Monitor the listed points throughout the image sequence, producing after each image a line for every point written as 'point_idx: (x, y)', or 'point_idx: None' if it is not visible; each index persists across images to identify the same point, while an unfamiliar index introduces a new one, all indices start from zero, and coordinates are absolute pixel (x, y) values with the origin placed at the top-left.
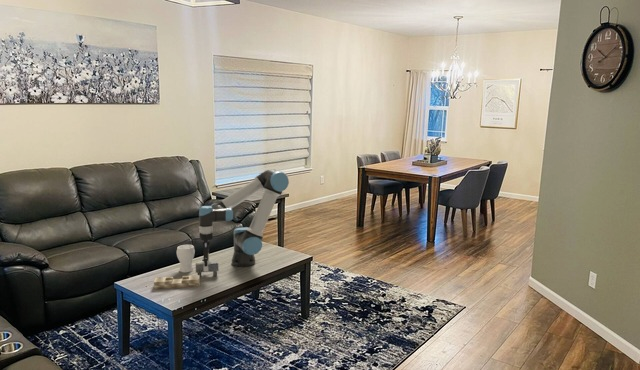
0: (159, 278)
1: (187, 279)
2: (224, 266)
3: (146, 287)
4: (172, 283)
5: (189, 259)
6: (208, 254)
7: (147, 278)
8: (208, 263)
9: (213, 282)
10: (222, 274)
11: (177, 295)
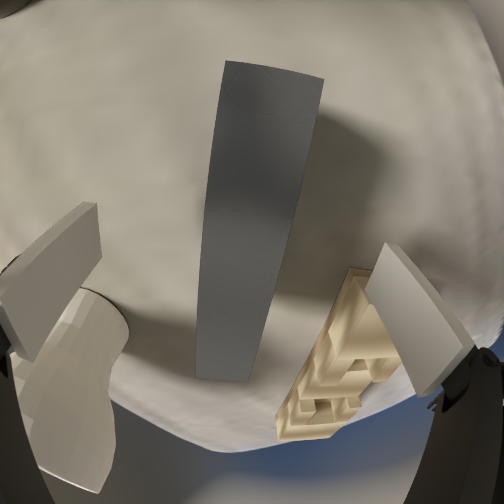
0: (296, 435)
1: (394, 361)
2: (42, 46)
3: None
4: (357, 394)
5: (92, 390)
6: (16, 290)
7: (195, 426)
8: (269, 258)
9: (413, 174)
10: (246, 47)
11: None
